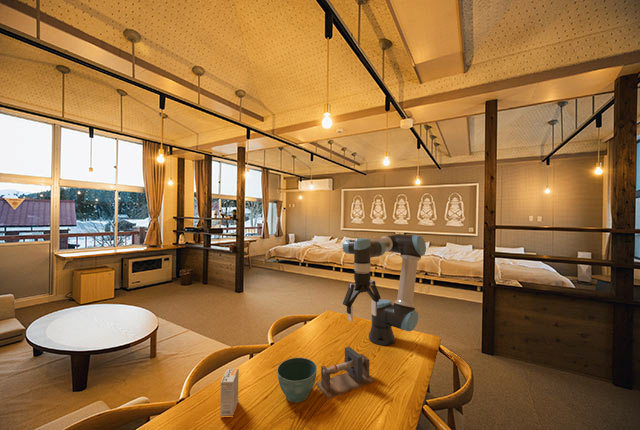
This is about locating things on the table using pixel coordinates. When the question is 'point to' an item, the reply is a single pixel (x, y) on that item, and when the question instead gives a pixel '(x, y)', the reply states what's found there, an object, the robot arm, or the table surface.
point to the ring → (357, 369)
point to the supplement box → (229, 392)
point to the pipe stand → (342, 378)
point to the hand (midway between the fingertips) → (362, 317)
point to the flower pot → (297, 378)
